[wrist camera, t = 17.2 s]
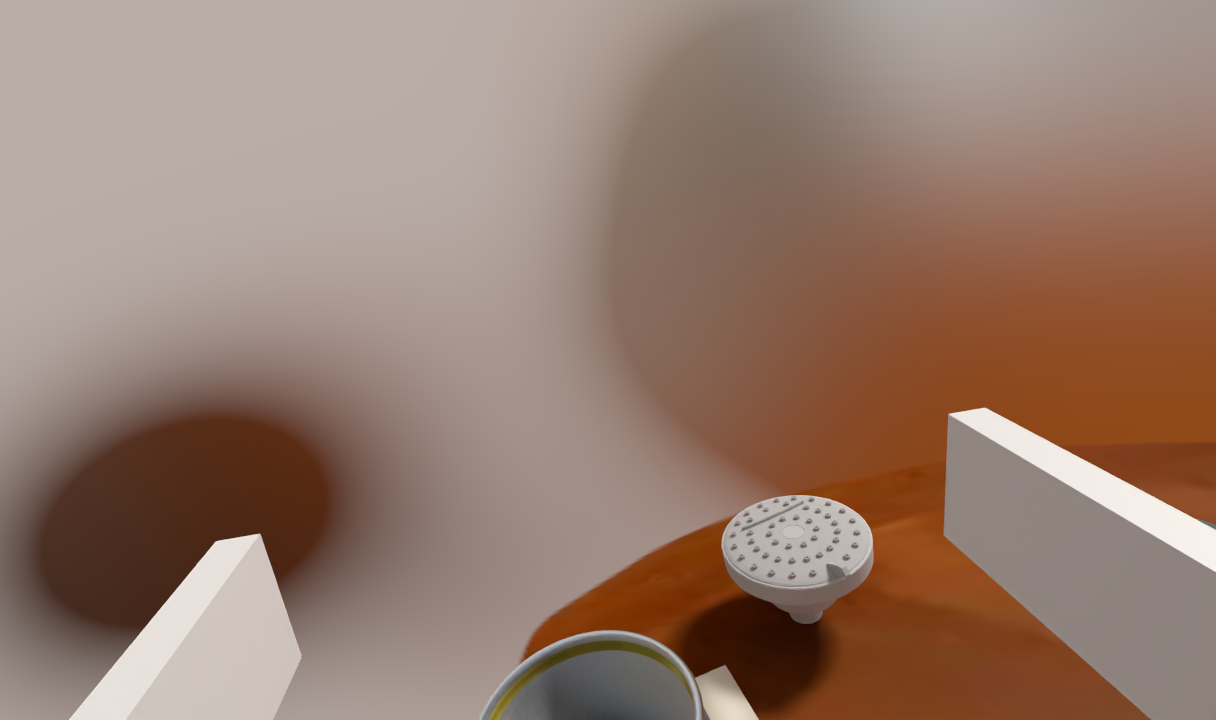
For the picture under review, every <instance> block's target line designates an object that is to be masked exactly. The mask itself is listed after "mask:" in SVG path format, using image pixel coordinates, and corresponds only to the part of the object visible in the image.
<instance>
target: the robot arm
mask: <svg viewBox="0 0 1216 720" xmlns="http://www.w3.org/2000/svg"><path fill="white" fill-rule="evenodd" d="M944 536H945V537H946V538H947V539H948V540H950V541H951V542H952V543H953V544H954V545H955V546H956V547H957V548H959V549H960V550H961V551H962V552H963V553H964V554H965V555H966V556H968V557H969V558H970V559H971V560H972V561H973V562H974V563H975V564H977V565H978V566H979V567H980V568H981V569H982V570H983V571H984V572H986V573H987V574H988V575H989V576H990V577H991V578H992V579H993V580H995V581H996V582H997V583H998V584H999V585H1000V586H1001V587H1002V588H1004V589H1005V590H1006V591H1007V592H1008V593H1009V594H1010V595H1011V596H1013V597H1014V598H1015V599H1016V600H1017V601H1018V602H1019V603H1020V604H1022V605H1023V606H1024V607H1025V608H1026V609H1027V610H1028V611H1029V612H1031V613H1032V614H1033V615H1034V616H1035V617H1036V618H1037V619H1038V620H1040V621H1041V622H1042V623H1043V624H1044V625H1045V626H1046V627H1048V628H1049V629H1050V630H1051V631H1052V632H1053V633H1054V634H1055V635H1057V636H1058V637H1059V638H1060V639H1061V640H1062V641H1063V642H1064V643H1066V644H1067V645H1068V646H1069V647H1070V648H1071V649H1072V650H1073V651H1075V652H1076V653H1077V654H1078V655H1079V656H1080V657H1081V658H1082V659H1084V660H1085V661H1086V662H1087V663H1088V664H1089V665H1090V666H1091V667H1093V668H1094V669H1095V670H1096V671H1097V672H1098V673H1099V674H1100V675H1102V676H1103V677H1104V678H1105V679H1106V680H1107V681H1108V682H1109V683H1111V684H1112V685H1113V686H1114V687H1115V688H1116V689H1117V690H1118V691H1120V692H1121V693H1122V694H1123V695H1124V696H1125V697H1126V698H1127V699H1129V700H1130V701H1131V702H1132V703H1133V704H1134V705H1135V706H1136V707H1138V708H1139V709H1140V710H1141V711H1142V712H1143V713H1144V714H1145V715H1147V716H1148V717H1149V718H1150V719H1151V720H1216V525H1215V524H1212V523H1209V522H1206V521H1203V520H1196V519H1194V518H1192V517H1190V516H1188V515H1187V514H1185V513H1183V512H1181V511H1179V510H1177V509H1175V508H1173V507H1171V506H1170V505H1168V504H1166V503H1164V502H1162V501H1160V500H1158V499H1156V498H1155V497H1153V496H1151V495H1149V494H1147V493H1145V492H1143V491H1141V490H1139V489H1138V488H1136V487H1134V486H1132V485H1130V484H1128V483H1126V482H1124V481H1122V480H1121V479H1119V478H1117V477H1115V476H1113V475H1111V474H1109V473H1107V472H1105V471H1104V470H1102V469H1100V468H1098V467H1096V466H1094V465H1092V464H1090V463H1088V462H1087V461H1085V460H1083V459H1081V458H1079V457H1077V456H1075V455H1073V454H1071V453H1070V452H1068V451H1066V450H1064V449H1062V448H1060V447H1058V446H1056V445H1054V444H1052V443H1051V442H1049V441H1047V440H1045V439H1043V438H1041V437H1039V436H1037V435H1036V434H1034V433H1032V432H1030V431H1028V430H1026V429H1024V428H1022V427H1020V426H1019V425H1016V424H1015V423H1013V422H1011V421H1009V420H1007V419H1005V418H1003V417H1002V416H999V415H998V414H996V413H994V412H992V411H990V410H988V409H987V408H981V409H975V410H970V411H964V412H958V413H952V414H948V437H947V464H946V491H945V518H944ZM301 657H302V656H301V653H300V650H299V647H298V644H297V641H296V638H295V636H294V632H293V630H292V627H291V624H290V621H289V618H288V615H287V612H286V609H285V606H284V603H283V600H282V597H281V594H280V591H279V588H278V585H277V583H276V579H275V577H274V574H273V571H272V568H271V565H270V562H269V559H268V556H267V553H266V550H265V547H264V544H263V541H262V538H261V535H260V534H256V535H250V536H244V537H239V538H233V539H227V540H221V541H216V542H215V543H214V545H213V546H212V547H211V548H210V549H209V551H208V552H207V553H206V554H205V556H204V557H203V558H202V559H201V560H200V561H199V563H198V564H197V565H196V566H195V568H194V569H193V570H192V571H191V572H190V574H189V575H188V576H187V577H186V578H185V580H184V581H183V582H182V583H181V585H180V586H179V587H178V588H177V589H176V591H175V592H174V593H173V594H172V595H171V597H170V598H169V599H168V600H167V602H166V603H165V604H164V605H163V606H162V608H161V609H160V610H159V611H158V612H157V614H156V615H155V616H154V617H153V619H152V620H151V621H150V622H149V624H148V625H147V626H146V627H145V629H144V630H143V631H142V632H141V633H140V634H139V635H138V637H137V638H136V639H135V640H134V642H133V643H132V644H131V645H130V646H129V648H128V649H127V650H126V651H125V653H124V654H123V655H122V656H121V657H120V659H119V660H118V661H117V662H116V663H115V665H114V666H113V667H112V668H111V669H110V671H109V672H108V673H107V674H106V675H105V677H104V678H103V679H102V681H101V682H100V683H99V684H98V685H97V686H96V688H95V689H94V690H93V691H92V692H91V694H90V695H89V696H88V697H87V699H86V700H85V701H84V702H83V704H82V705H81V706H80V707H79V708H78V710H77V711H76V712H75V713H74V714H73V716H72V717H71V718H70V719H69V720H273V719H274V717H275V714H276V712H277V710H278V708H279V706H280V703H281V701H282V699H283V697H284V694H285V692H286V690H287V688H288V685H289V684H290V681H291V679H292V677H293V675H294V673H295V671H296V668H297V666H298V664H299V662H300V659H301Z"/></svg>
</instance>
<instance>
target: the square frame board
mask: <svg viewBox="0 0 1216 720" xmlns="http://www.w3.org/2000/svg"><path fill="white" fill-rule="evenodd" d="M695 680H696V682H697V684H698V687H699V690H700V693H701V697H702V701H703V708H704V720H759V719H758V718H757V716H756V714H755V713H754V711H753V709H752V708H751V706H750V704H749V703H748V701H747V700H746V698H745V696H744V695H743V693H742V691H741V690H740V688H739V686H738V685H737V683H736V681H735V680H734V678H733V677H732V675H731V673H730V672H729V670H728V668H727V667H726V665H724V666H722V667H719V668H717V669H715V670H712V671H710V672H708V673H705V674H703V675H701V676H698V677H696V678H695Z"/></svg>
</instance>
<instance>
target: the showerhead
mask: <svg viewBox="0 0 1216 720" xmlns="http://www.w3.org/2000/svg"><path fill="white" fill-rule="evenodd" d="M721 547H722V552H723V556H724V560H725V564H726V568H727V571H728V573H729V575H730V576H731V578H732V579H733V580H734V582H735V583H736V584H737V585H738V586H739V587H741V588H742V589H743V590H745V591H746V592H748V593H749V594H751V595H753V596H755V597H757V598H760V599H763V600H766V601H769V602H772V603H773V604H774V605H775V606H776V607H778V608H779V609H781V610H783V611H786V612H789V614H790V616H791V618H792V619H793V620H794V621H796V622H798V623H802V624H811V623H814V622H816V621H818V620H819V619H820V618H821V616H822V611H823V610H825V609H827V608H828V607H830V606H831V605H832V604H833V603H834V602H835V600H836V599H837V598H839V597H842V596H844V595H846V594H848V593H849V592H851V591H852V590H854V589H856V588H857V587H858V586H859V585H860V584H861V583H862V582H863V581H864V580H865V579H866V577H867V576H868V574H869V572H870V570H871V568H872V565H873V539H872V534H871V530H870V528H869V526H868V525H867V523H866V522H865V521H864V519H863V518H862V517H861V516H860V515H859V514H857V513H856V512H855V511H853V510H852V509H850V508H849V507H847V506H845V505H843V504H841V503H838V502H836V501H833V500H830V499H826V498H821V497H816V496H804V495H795V496H783V497H776V498H772V499H768V500H765V501H762V502H759V503H756V504H754V505H752V506H750V507H748V508H746V509H745V510H743V511H742V512H740V513H739V514H738V515H737V516H735V517H734V518H733V519H732V521H731V522H730V523H729V524H728V525H727V527H726V529H725V531H724V533H723V536H722V542H721Z"/></svg>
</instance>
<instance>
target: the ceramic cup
mask: <svg viewBox="0 0 1216 720" xmlns="http://www.w3.org/2000/svg"><path fill="white" fill-rule="evenodd" d="M478 720H704V708H703V701H702V697H701V693H700V690H699V687H698V684H697V682H696V680H695V677H694V675H693V674H692V672H691V671H690V669H689V668H688V666H687V665H686V664H685V662H684V661H683V660H682V659H681V658H680V657H679V656H678V655H677V654H676V653H675V652H674V651H672V650H671V649H670V648H668V647H667V646H665V645H664V644H662V643H660V642H658V641H657V640H655V639H652V638H650V637H647V636H644V635H641V634H638V633H633V632H627V631H616V630H605V631H594V632H588V633H583V634H579V635H575V636H572V637H569V638H566V639H563V640H560V641H558V642H556V643H554V644H552V645H549V646H547V647H546V648H544V649H542V650H540V651H538V652H537V653H535V654H534V655H532V656H531V657H529V658H528V659H527V660H525V661H524V662H523V663H521V664H520V665H519V666H518V667H517V668H516V669H514V670H513V671H512V672H511V673H510V674H509V675H508V676H507V677H506V678H505V679H504V680H503V682H502V683H501V684H500V685H499V686H498V687H497V689H496V690H495V691H494V692H493V694H492V695H491V697H490V699H489V700H488V701H487V703H486V705H485V707H484V708H483V710H482V712H481V714H480V716H479V719H478Z"/></svg>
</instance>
